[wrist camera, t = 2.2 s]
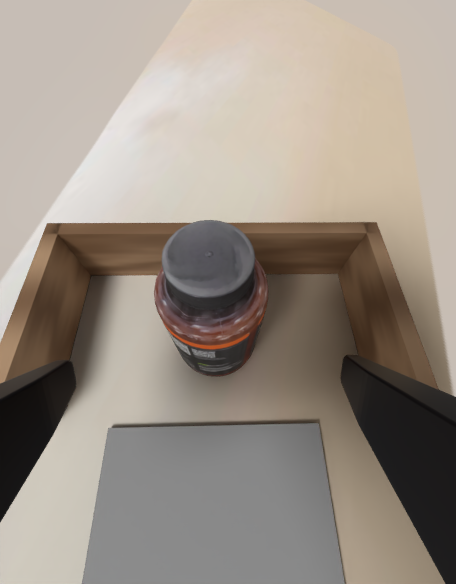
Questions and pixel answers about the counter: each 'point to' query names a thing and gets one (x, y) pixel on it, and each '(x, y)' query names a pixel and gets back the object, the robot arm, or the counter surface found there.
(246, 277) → the supplement bottle
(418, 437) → the robot arm
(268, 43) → the counter surface
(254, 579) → the mat
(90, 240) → the open wooden enclosure
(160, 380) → the counter surface
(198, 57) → the counter surface
